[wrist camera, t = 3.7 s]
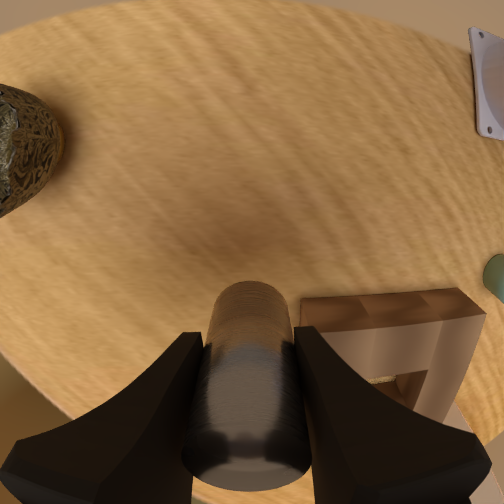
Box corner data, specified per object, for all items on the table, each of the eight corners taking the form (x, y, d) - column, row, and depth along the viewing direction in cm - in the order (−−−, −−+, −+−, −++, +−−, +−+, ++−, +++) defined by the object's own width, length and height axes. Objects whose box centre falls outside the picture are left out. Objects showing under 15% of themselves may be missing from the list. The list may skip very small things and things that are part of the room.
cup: (106, 179, 18) (26, 207, 10) (26, 213, 18) (-53, 250, 11) (81, 70, 15) (-2, 47, 8) (3, 117, 16) (-79, 123, 8)
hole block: (457, 287, 20) (486, 313, 16) (421, 404, 24) (436, 434, 20) (301, 298, 20) (310, 333, 16) (293, 422, 24) (297, 458, 20)
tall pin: (288, 279, 12) (318, 423, 6) (287, 344, 13) (306, 489, 7) (210, 281, 12) (168, 423, 6) (216, 345, 13) (192, 488, 7)
